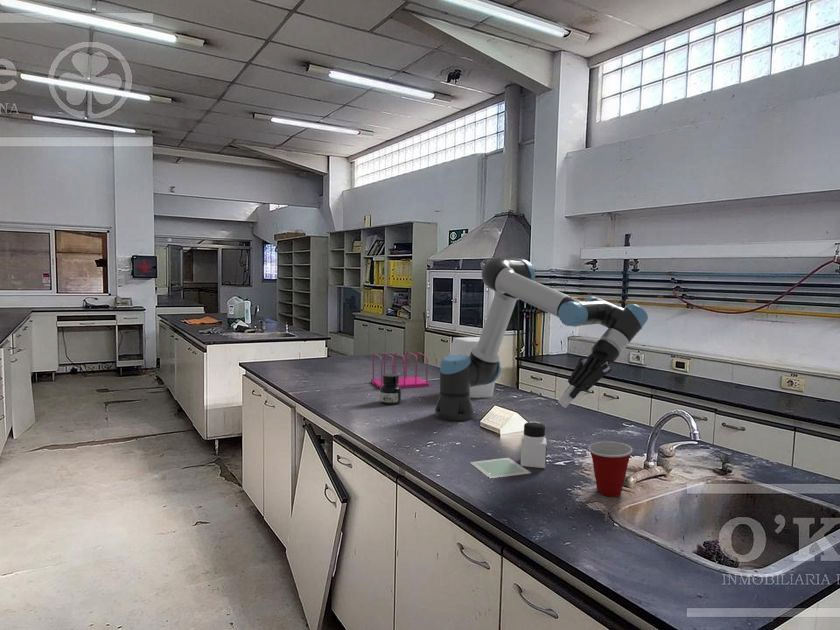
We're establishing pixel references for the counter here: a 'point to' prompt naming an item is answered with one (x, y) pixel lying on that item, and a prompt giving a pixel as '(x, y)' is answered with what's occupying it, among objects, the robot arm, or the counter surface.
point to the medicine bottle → (533, 445)
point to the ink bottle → (390, 389)
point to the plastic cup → (610, 466)
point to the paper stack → (465, 348)
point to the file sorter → (404, 381)
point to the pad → (499, 468)
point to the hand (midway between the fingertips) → (561, 404)
